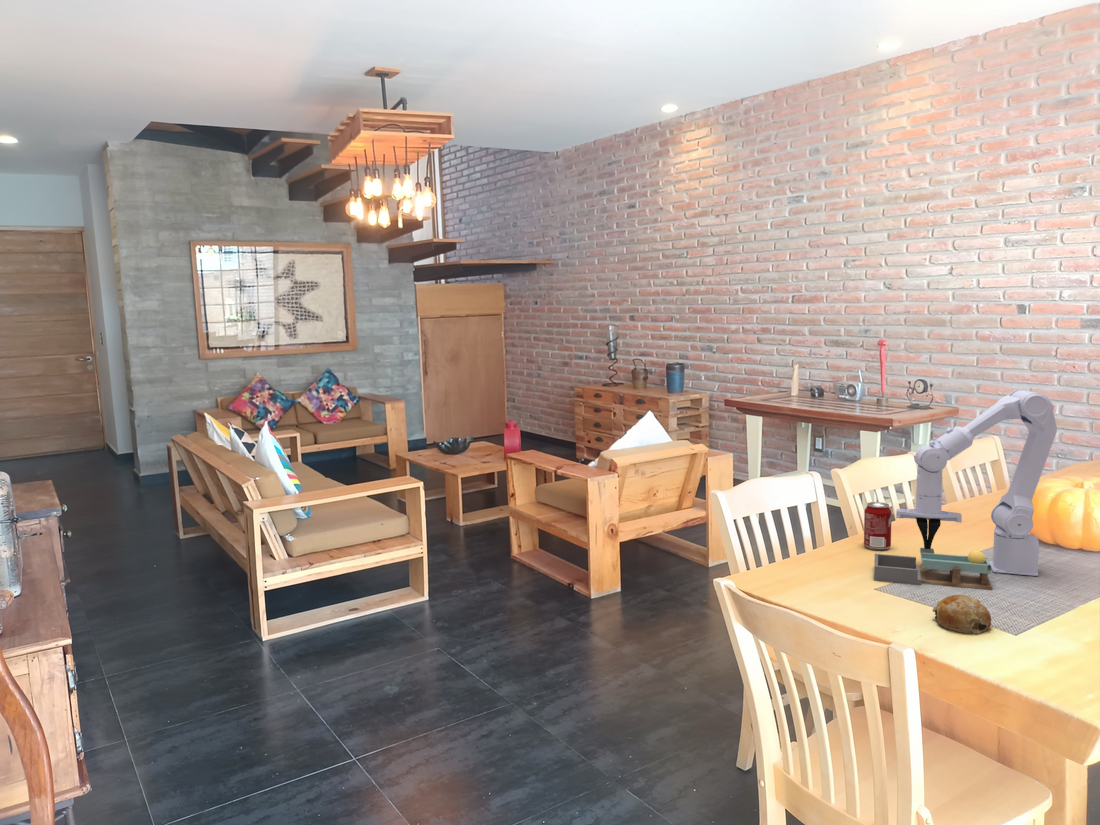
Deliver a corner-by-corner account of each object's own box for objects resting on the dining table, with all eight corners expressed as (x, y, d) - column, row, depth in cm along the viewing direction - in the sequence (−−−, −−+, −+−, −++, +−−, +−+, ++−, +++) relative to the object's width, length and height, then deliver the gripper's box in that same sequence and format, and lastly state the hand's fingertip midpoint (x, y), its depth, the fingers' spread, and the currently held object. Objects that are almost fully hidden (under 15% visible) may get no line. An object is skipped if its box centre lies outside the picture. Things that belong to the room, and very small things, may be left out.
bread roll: (956, 652, 156) (973, 623, 152) (918, 615, 164) (933, 586, 160) (991, 642, 160) (1008, 614, 156) (952, 607, 168) (967, 579, 164)
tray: (919, 571, 193) (919, 557, 193) (921, 585, 184) (921, 570, 183) (874, 567, 197) (874, 553, 197) (874, 580, 188) (874, 566, 187)
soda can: (886, 552, 209) (888, 508, 207) (860, 548, 213) (861, 505, 211) (893, 546, 214) (894, 503, 212) (867, 542, 218) (868, 500, 216)
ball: (984, 564, 184) (984, 549, 184) (986, 568, 181) (986, 553, 181) (966, 562, 186) (967, 547, 185) (968, 567, 182) (968, 552, 182)
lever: (982, 555, 193) (983, 547, 193) (990, 574, 180) (990, 565, 180) (920, 550, 198) (920, 542, 198) (923, 568, 185) (923, 559, 185)
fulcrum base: (987, 578, 186) (988, 561, 186) (991, 589, 179) (992, 572, 179) (919, 572, 192) (920, 556, 192) (921, 583, 185) (921, 566, 184)
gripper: (960, 492, 195) (958, 545, 196) (896, 489, 200) (895, 541, 202) (963, 499, 188) (961, 554, 190) (897, 495, 194) (895, 548, 195)
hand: (927, 548), depth 195 cm, fingers closed
